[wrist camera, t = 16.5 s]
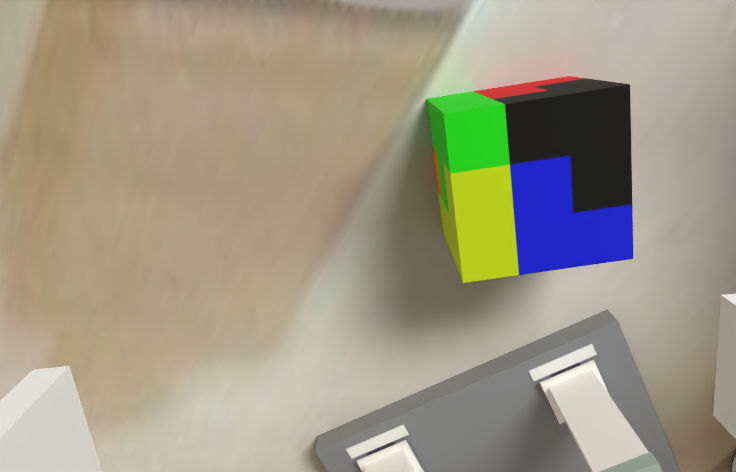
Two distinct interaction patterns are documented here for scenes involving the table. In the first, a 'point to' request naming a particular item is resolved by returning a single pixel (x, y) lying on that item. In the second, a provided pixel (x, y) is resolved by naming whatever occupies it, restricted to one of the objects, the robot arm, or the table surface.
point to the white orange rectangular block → (391, 460)
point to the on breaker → (597, 422)
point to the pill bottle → (734, 465)
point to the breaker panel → (505, 411)
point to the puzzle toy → (534, 176)
